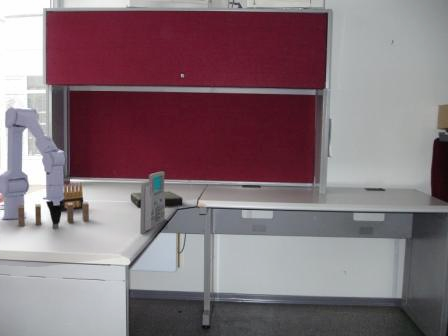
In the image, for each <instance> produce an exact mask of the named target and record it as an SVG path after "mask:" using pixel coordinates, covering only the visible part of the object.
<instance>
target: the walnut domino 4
mask: <svg viewBox="0 0 448 336" xmlns="http://www.w3.org/2000/svg"><path fill="white" fill-rule="evenodd" d="M89 209H90V207H89V202H88V201H83V202H82V212H81V214H82V222H85V223H86V222H87V223H88V222H89V221H90V219H89V218H90V216H89V215H90V210H89Z"/></svg>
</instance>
